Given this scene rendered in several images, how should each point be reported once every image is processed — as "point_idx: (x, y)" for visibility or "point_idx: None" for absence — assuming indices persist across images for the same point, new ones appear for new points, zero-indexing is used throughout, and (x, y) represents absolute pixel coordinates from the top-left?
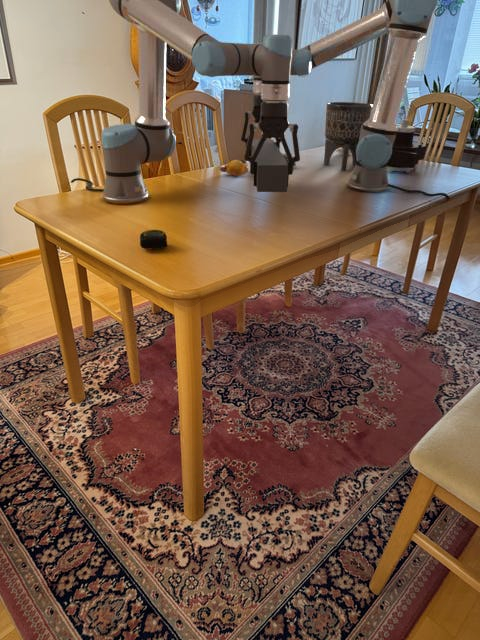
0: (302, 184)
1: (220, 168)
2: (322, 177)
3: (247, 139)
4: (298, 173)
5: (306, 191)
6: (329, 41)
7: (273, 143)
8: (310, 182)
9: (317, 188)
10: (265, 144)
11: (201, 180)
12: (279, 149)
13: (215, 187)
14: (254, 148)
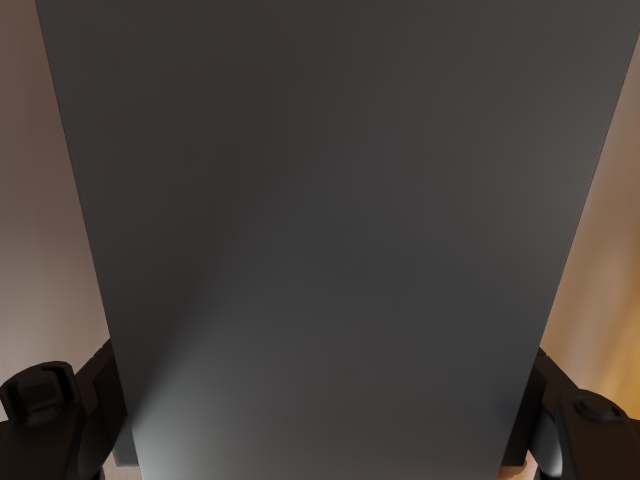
0: (93, 284)
1: (525, 459)
2: (3, 411)
3: (629, 437)
4: (123, 472)
5: (60, 131)
6: None
7: (129, 258)
8: (54, 323)
9: (3, 202)
10: (301, 112)
11: (624, 352)
12: (107, 342)
13: (589, 212)
14: None
